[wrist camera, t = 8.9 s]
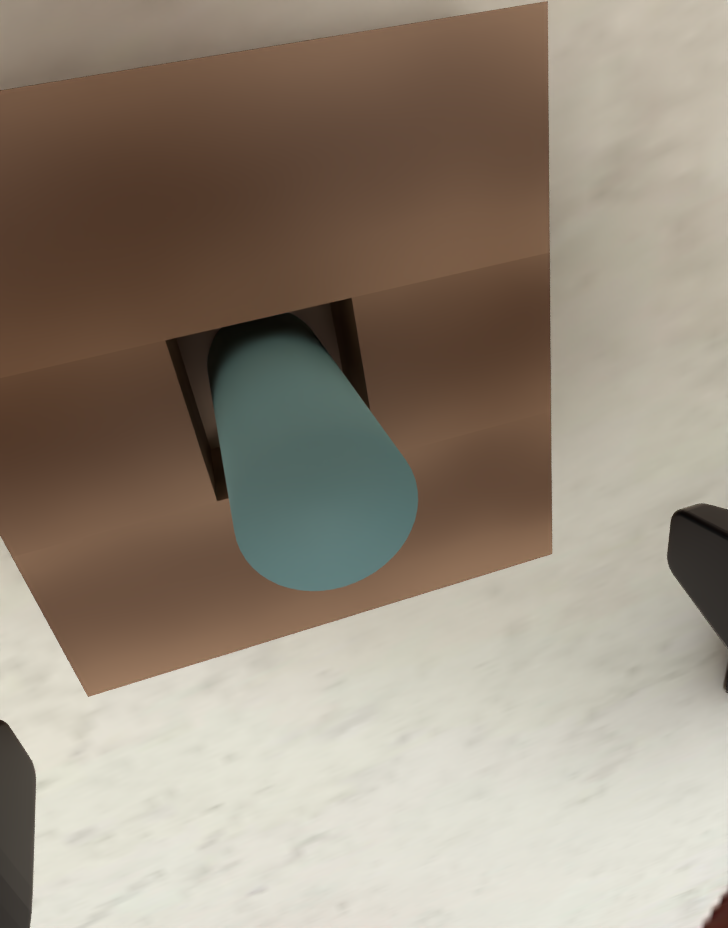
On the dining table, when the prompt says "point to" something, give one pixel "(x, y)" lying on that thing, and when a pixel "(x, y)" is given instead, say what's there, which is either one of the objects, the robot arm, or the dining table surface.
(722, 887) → the dining table surface
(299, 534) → the dowel
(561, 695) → the dining table surface
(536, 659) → the dining table surface
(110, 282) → the hole block
